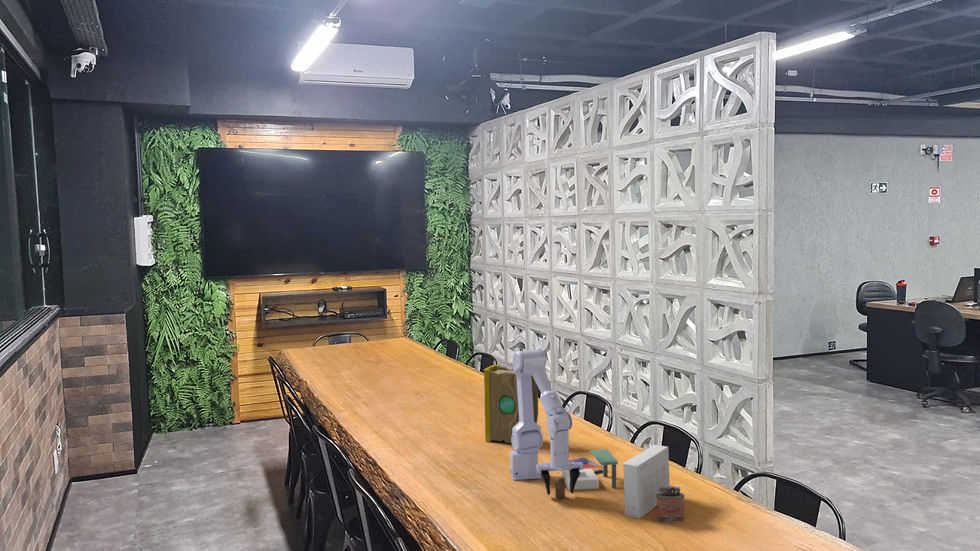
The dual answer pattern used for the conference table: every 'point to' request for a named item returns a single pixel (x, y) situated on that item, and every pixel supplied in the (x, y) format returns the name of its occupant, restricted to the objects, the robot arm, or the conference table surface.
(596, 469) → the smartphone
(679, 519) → the lighter
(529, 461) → the robot arm
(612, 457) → the small green stool
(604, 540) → the conference table surface
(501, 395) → the decorative book
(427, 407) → the conference table surface
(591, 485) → the socket block
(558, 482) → the peg
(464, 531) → the conference table surface
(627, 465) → the skincare box
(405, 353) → the conference table surface
